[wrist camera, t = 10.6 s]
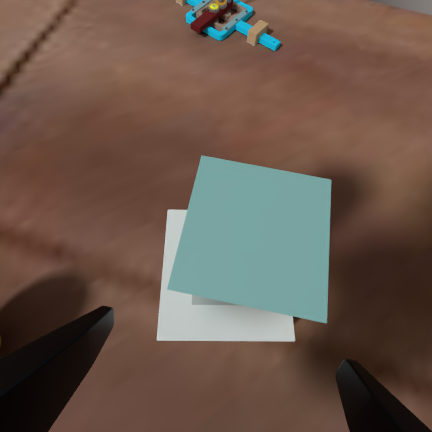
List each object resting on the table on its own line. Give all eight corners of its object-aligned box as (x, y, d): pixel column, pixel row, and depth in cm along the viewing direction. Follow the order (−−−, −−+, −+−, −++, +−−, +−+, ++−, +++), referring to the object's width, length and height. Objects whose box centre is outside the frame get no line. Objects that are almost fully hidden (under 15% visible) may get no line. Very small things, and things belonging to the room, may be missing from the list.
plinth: (282, 333, 19) (295, 341, 16) (164, 332, 19) (156, 340, 16) (273, 222, 22) (283, 211, 19) (173, 220, 22) (167, 209, 19)
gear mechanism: (253, 74, 29) (291, 37, 32) (262, 28, 24) (306, -12, 27) (143, 10, 33) (185, -19, 35) (131, -42, 28) (181, -71, 30)
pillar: (247, 301, 17) (326, 323, 5) (195, 290, 17) (166, 289, 6) (254, 250, 18) (331, 179, 7) (206, 240, 18) (201, 155, 7)
